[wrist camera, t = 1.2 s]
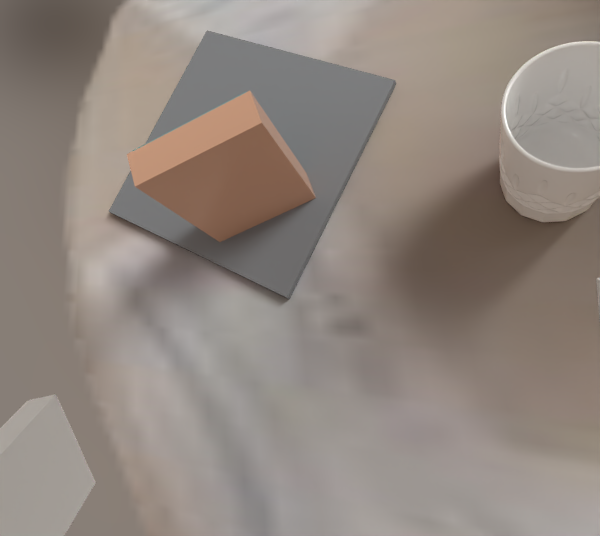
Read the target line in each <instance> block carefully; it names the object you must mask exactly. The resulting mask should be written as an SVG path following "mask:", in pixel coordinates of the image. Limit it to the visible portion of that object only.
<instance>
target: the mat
mask: <svg viewBox="0 0 600 536" xmlns="http://www.w3.org/2000/svg"><path fill="white" fill-rule="evenodd" d="M395 85H396V82H395V80H392V79H389V78H385V77H381V76H377V75H374V74H370V73H366V72H362V71H358V70H355V69H351V68H347V67H343V66H339V65H336V64H332V63H328V62H324V61H321V60H317V59H313V58H309V57H305V56H302V55H298V54H294V53H290V52H286V51H283V50H279V49H275V48H271V47H267V46H264V45H260V44H256V43H252V42H249V41H245V40H241V39H237V38H233V37H230V36H226V35H222V34H218V33H214V32H211V31H206V33H205V35H204V37H203V39H202V41H201V42H200V44H199V46H198V48H197V50H196V52H195V53H194V55H193V57H192V59H191V61H190V63H189V65H188V66H187V68H186V70H185V72H184V74H183V76H182V77H181V79H180V81H179V83H178V85H177V87H176V88H175V90H174V92H173V94H172V96H171V98H170V99H169V101H168V103H167V105H166V107H165V109H164V111H163V112H162V114H161V116H160V118H159V120H158V122H157V123H156V125H155V127H154V129H153V131H152V133H151V134H150V136H149V138H148V140H147V142H146V143H148V142H150V141H152V140H154V139H156V138H158V137H160V136H162V135H164V134H166V133H168V132H170V131H172V130H173V129H175V128H177V127H179V126H181V125H183V124H185V123H187V122H189V121H191V120H193V119H195V118H197V117H198V116H200V115H202V114H204V113H206V112H208V111H210V110H212V109H214V108H216V107H218V106H220V105H222V104H224V103H225V102H227V101H229V100H231V99H233V98H235V97H237V96H239V95H241V94H243V93H245V92H248V91H251V93H252V94H253V96H254V97H255V98H256V100H257V101H258V103H259V104H260V106H261V107H262V109H263V110H264V112H265V113H266V115H267V116H268V118H269V119H270V120H271V122H272V123H273V125H274V126H275V128H276V129H277V131H278V132H279V134H280V135H281V137H282V138H283V139H284V141H285V142H286V144H287V145H288V147H289V148H290V150H291V151H292V153H293V154H294V156H295V157H296V158H297V160H298V161H299V163H300V164H301V166H302V167H303V169H304V170H305V172H306V173H307V176H308V179H309V181H310V184H311V186H312V189H313V191H314V194H315V197H316V198H315V199H313V200H310V201H308V202H306V203H304V204H302V205H300V206H297V207H295V208H293V209H291V210H289V211H287V212H284V213H282V214H280V215H278V216H276V217H274V218H271V219H269V220H267V221H265V222H263V223H261V224H258V225H256V226H254V227H252V228H250V229H248V230H245V231H243V232H241V233H239V234H237V235H234V236H232V237H230V238H228V239H226V240H224V241H221V242H219V241H217V240H216V239H214V238H213V237H211V236H210V235H208V234H207V233H205V232H204V231H202V230H200V229H199V228H197V227H196V226H194V225H193V224H191V223H190V222H188V221H187V220H185V219H184V218H182V217H181V216H179V215H178V214H176V213H174V212H173V211H171V210H170V209H168V208H167V207H165V206H164V205H162V204H161V203H159V202H158V201H156V200H155V199H153V198H152V197H150V196H148V195H147V194H145V193H144V192H142V191H141V190H139V189H138V188H136V187H135V185H134V181H133V177H132V173H131V171H130V173H129V175H128V177H127V179H126V180H125V182H124V184H123V186H122V188H121V190H120V192H119V193H118V195H117V197H116V199H115V201H114V203H113V204H112V206H111V208H110V210H109V212H111V213H113V214H115V215H117V216H119V217H121V218H123V219H125V220H127V221H129V222H131V223H133V224H135V225H137V226H139V227H141V228H143V229H146V230H148V231H150V232H152V233H154V234H156V235H158V236H160V237H162V238H164V239H166V240H168V241H170V242H172V243H175V244H177V245H179V246H181V247H183V248H185V249H187V250H189V251H191V252H193V253H195V254H197V255H199V256H201V257H203V258H206V259H208V260H210V261H212V262H214V263H216V264H218V265H220V266H222V267H224V268H226V269H228V270H230V271H232V272H234V273H237V274H239V275H241V276H243V277H245V278H247V279H249V280H251V281H253V282H255V283H257V284H259V285H261V286H263V287H265V288H268V289H270V290H272V291H274V292H276V293H278V294H280V295H282V296H284V297H286V298H288V299H290V297H291V295H292V293H293V291H294V289H295V287H296V285H297V283H298V281H299V279H300V277H301V275H302V273H303V271H304V269H305V267H306V265H307V263H308V261H309V259H310V257H311V255H312V253H313V251H314V249H315V247H316V245H317V243H318V240H319V238H320V236H321V234H322V232H323V230H324V228H325V226H326V224H327V222H328V220H329V218H330V216H331V214H332V212H333V210H334V208H335V206H336V204H337V202H338V200H339V198H340V196H341V194H342V192H343V190H344V188H345V186H346V184H347V182H348V180H349V178H350V176H351V174H352V172H353V170H354V168H355V166H356V164H357V162H358V160H359V158H360V156H361V154H362V152H363V150H364V148H365V146H366V144H367V142H368V140H369V138H370V136H371V134H372V132H373V130H374V128H375V126H376V124H377V122H378V120H379V118H380V116H381V114H382V112H383V110H384V108H385V106H386V104H387V102H388V100H389V97H390V95H391V93H392V91H393V89H394V87H395Z"/></svg>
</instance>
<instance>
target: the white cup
mask: <svg viewBox="0 0 600 536" xmlns="http://www.w3.org/2000/svg"><path fill="white" fill-rule="evenodd" d="M499 165H500V185H501V188H502V191H503V194H504V197H505V200H506V201H507V202H508V203H509V204H510V205H511V206H512V207H513V208H514V209H515V210H516V211H517V212H518V213H519V214H520V215H522V216H525V217H528V218H531V219H534V220H537V221H540V222H557V221H567V220H569V219H571V218H573V217H575V216H577V215H579V214H581V213H583V212H585V211H587V210H588V209H589V208H590V206H591V205H592V204H593V203H594V201H595V200H596V199H597V198H599V197H600V42H595V41H581V42H572V43H567V44H562V45H559V46H555V47H553V48H550V49H548V50H545V51H543V52H541V53H539V54H538V55H536V56H534V57H533V58H531V59H530V60H529V61H527V62H526V63H525V64H524V65H523V66H522V67H521V68H520V69H519V70H518V71H517V72H516V73H515V74H514V76H513V77H512V78H511V80H510V81H509V83H508V85H507V87H506V89H505V92H504V95H503V98H502V103H501V122H500V142H499Z"/></svg>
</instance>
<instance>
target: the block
mask: <svg viewBox="0 0 600 536" xmlns="http://www.w3.org/2000/svg"><path fill="white" fill-rule="evenodd" d="M127 157H128V161H129V165H130V169H131V173H132V177H133V181H134V185H135V187H136V188H138V189H139V190H141V191H142V192H144V193H145V194H147V195H148V196H150V197H152V198H153V199H155V200H156V201H158V202H159V203H161V204H162V205H164V206H165V207H167V208H168V209H170V210H171V211H173V212H174V213H176V214H178V215H179V216H181V217H182V218H184V219H185V220H187V221H188V222H190V223H191V224H193V225H194V226H196V227H197V228H199V229H200V230H202V231H204V232H205V233H207V234H208V235H210V236H211V237H213V238H214V239H216V240H217V241H219V242H221V241H224V240H226V239H228V238H230V237H232V236H234V235H237V234H239V233H241V232H243V231H245V230H248V229H250V228H252V227H254V226H256V225H258V224H261V223H263V222H265V221H267V220H269V219H271V218H274V217H276V216H278V215H280V214H282V213H284V212H287V211H289V210H291V209H293V208H295V207H297V206H300V205H302V204H304V203H306V202H308V201H310V200H313V199H315V198H316V197H315V194H314V191H313V189H312V186H311V184H310V181H309V179H308V176H307V173H306V172H305V170H304V169H303V167H302V166H301V164H300V163H299V161H298V160H297V158H296V157H295V156H294V154H293V153H292V151H291V150H290V148H289V147H288V145H287V144H286V142H285V141H284V139H283V138H282V137H281V135H280V134H279V132H278V131H277V129H276V128H275V126H274V125H273V123H272V122H271V120H270V119H269V118H268V116H267V115H266V113H265V112H264V110H263V109H262V107H261V106H260V104H259V103H258V101H257V100H256V98H255V97H254V96H253V94H252V93H251V91H248V92H245V93H243V94H241V95H239V96H237V97H235V98H233V99H231V100H229V101H227V102H225V103H224V104H222V105H220V106H218V107H216V108H214V109H212V110H210V111H208V112H206V113H204V114H202V115H200V116H198V117H197V118H195V119H193V120H191V121H189V122H187V123H185V124H183V125H181V126H179V127H177V128H175V129H173V130H172V131H170V132H168V133H166V134H164V135H162V136H160V137H158V138H156V139H154V140H152V141H150V142H148V143H146V144H145V145H143V146H141V147H139V148H137V149H135V150H133V151H132V152H130V153H128V154H127Z"/></svg>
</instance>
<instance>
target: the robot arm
mask: <svg viewBox="0 0 600 536" xmlns="http://www.w3.org/2000/svg"><path fill="white" fill-rule="evenodd" d="M596 283H597V295H598V308H599V320H600V278H596ZM95 483H96V482H95V480H94V478H93V475H92V473H91V471H90V469H89V467H88V465H87V462H86V460H85V458H84V455H83V453H82V451H81V449H80V447H79V444H78V442H77V440H76V438H75V435H74V433H73V431H72V429H71V427H70V424H69V422H68V420H67V418H66V415H65V413H64V411H63V409H62V407H61V404H60V402H59V400H58V398H57V396H56V394H55V395H50V396H46V397H41V398H36V399H31V400H28V401H27V402H26V403H25V404H24V405H23V406H22V407H21V408H20V409H19V410H18V411H17V412H16V413H15V414H14V415H13V416H12V417H11V418H10V419H9V420H8V421H7V422H6V423H5V424H4V425H3V426H2V427H1V428H0V536H65V534H66V532H67V530H68V529H69V527H70V525H71V524H72V522H73V520H74V519H75V517H76V515H77V514H78V512H79V510H80V508H81V507H82V505H83V503H84V502H85V500H86V498H87V497H88V495H89V493H90V491H91V490H92V488H93V486H94V485H95Z"/></svg>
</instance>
